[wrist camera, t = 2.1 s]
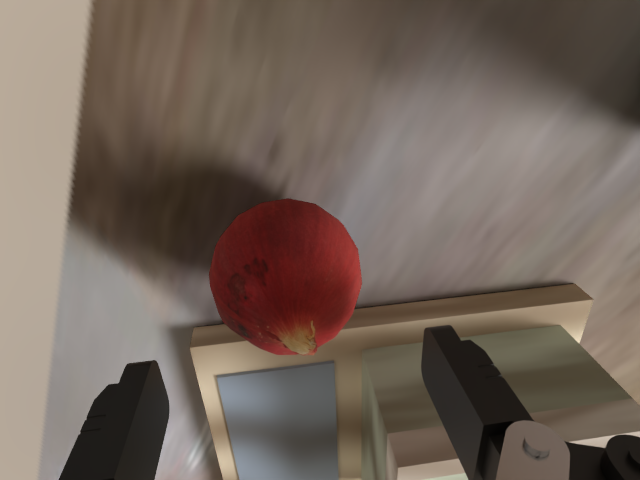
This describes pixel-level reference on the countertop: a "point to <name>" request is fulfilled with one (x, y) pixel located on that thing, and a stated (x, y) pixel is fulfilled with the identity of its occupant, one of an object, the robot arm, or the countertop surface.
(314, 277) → the onion
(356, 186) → the countertop surface
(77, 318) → the countertop surface
